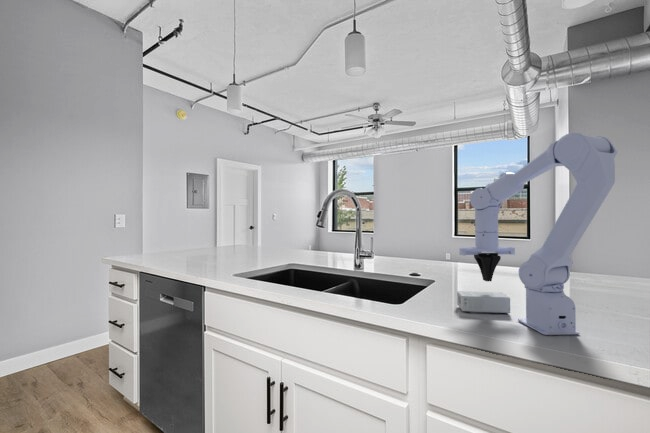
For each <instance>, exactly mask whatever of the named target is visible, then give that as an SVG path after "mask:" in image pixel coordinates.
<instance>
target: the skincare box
mask: <svg viewBox="0 0 650 433" xmlns="http://www.w3.org/2000/svg"><path fill="white" fill-rule="evenodd" d="M456 304H457V306H458V307H459V308H460V309H461V311H462V312H468V311H471V312H496V313H498V314H500V313H501V314H502V313H504V314H510V313H511V298H510V297H509V296H508V295H507V294H505V293H503V292H501V291H472V290H471V291H469V290H468V291H467V290H457V291H456Z"/></svg>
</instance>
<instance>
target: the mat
mask: <svg viewBox="0 0 650 433" xmlns="http://www.w3.org/2000/svg"><path fill="white" fill-rule="evenodd" d="M467 312H468V313H469V314H493V313H496V312H471V311H467Z"/></svg>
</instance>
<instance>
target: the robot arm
mask: <svg viewBox="0 0 650 433" xmlns="http://www.w3.org/2000/svg"><path fill="white" fill-rule="evenodd" d="M617 154H618V150H617V149H616V147H615V146H614V144H613V143H612V141H610V140H609V138H607V137H605V136H599V135H596V136H595V135H587V134H583V133H580V132H570V133H566V134H565V135H563V136H561V137H560V138H559V139H558V140H555V141H554V142H552V143H550V144H549V146H548V147H547V148H546V149H545V150H543V152H541V153H540V154H539V155H537V156H536V157H535V158H533V159H532V160H530V161H529V162H528V163H527V164H525V165H524V166H523V167H521V168H520V169H519V170H517V171H516V172H513V171H509V172H502V173H501V174H499V178H497V179H496V180H494V181H493V182H490V183H487V184H486V186H485V187H484V188H482V187H479V188H475V189H474V191H473V192H472V193H471V194H470V197H469V202H470V205H471V207H472V208H473V209H474V231H475V232H474V233H475V234H474V235H475V237H474V238H475V246H469V247H459V255H460V256H473V258H474V260H475V261H476V263H477V265H478V267H479V271H480V273H481V275H482V280H483V281H484V282H492V279H493V276H494V273H495V270H496V268H497V266H498V264H499V262H500V261H501V255H511V256H512V255H516V254H515V253H516V252H515V251H516V250H515V247H512V246H499V214H500V209H501V207H502V205H503V203H504V202H505V201H507V200H508V199H510V198H512V197H514V196H515V195H516V194H518V193H520V192H522V191H524V187H525V184H526V183H528V182H530V181H532V180H533V179H535V178H538V177H539V176H541V175H543V174H545V173H546V172H548V171H550V170H552V169H554V168H556V167H564V168H566V169H567V170H568V171H570V173H571V174H572V176H573V178H574V180H575V181H576V185H575V187H574V189H573V190H572V192H571V194H570V196H569V198H568V200H567V201H566V204H565V205H564V207H562V208H563V209H561V212H560V213H559V216H558V218H557V219H556V221H555V223H554V225H553V226H552V229H551V230H550V232H549V234H548V236H547V237H546V239H545V241H544V243H543V245H542V246H541V247H540V248H539V249H538V250H536V251H534V252H533V253H532V254H531V255H530V257H529V258H528V259H527V260H526V261H524V262H523V263H522V264H521V265H520V266H519V268H518V277H519V280H520V281H521V283H522V284H523V285H524V288H525V318H517V321H518V322H520V323H522V324H523V325H525V326H527V327H529V328H531V329H533V330H534V331H537V332H538V333H540V334H542V335H544V336H545V335H546V336H553V335H554V336H555V335H580V334H581V333H580V331H579V330H576V329H577V328H576V326H577V325H576V323H577V322H576V315H577V314H576V304H575V302H574V300H573V299H572V298H571V297H570V296H567V295H566V294H565V291H564V288H565V286H564V285H565V284H566V283H567V282H568V281H569V280H570V276H571V267H572V266H573V264H574V261H573V259H572V258H571V256H572V254H573V252H574V251H575V249H576V248H577V247H578V246H577V245H578V244H579V242H580V240H581V239H582V237H583V236H584V235H585V233H586V231H587V229H588V228H589V226H590V224H591V223H592V221H593V220H594V218H595V216H596V215H597V213H598V211H599V209H600V208H601V206H602V204H603V203H604V202H605V200H606V198H607V196H608V195H609V193H610V192H611V190H612V188H613V186H614V184H615V182H616V171H615V170H616V169H615V168H616V166H615V158H616V156H617Z"/></svg>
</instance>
